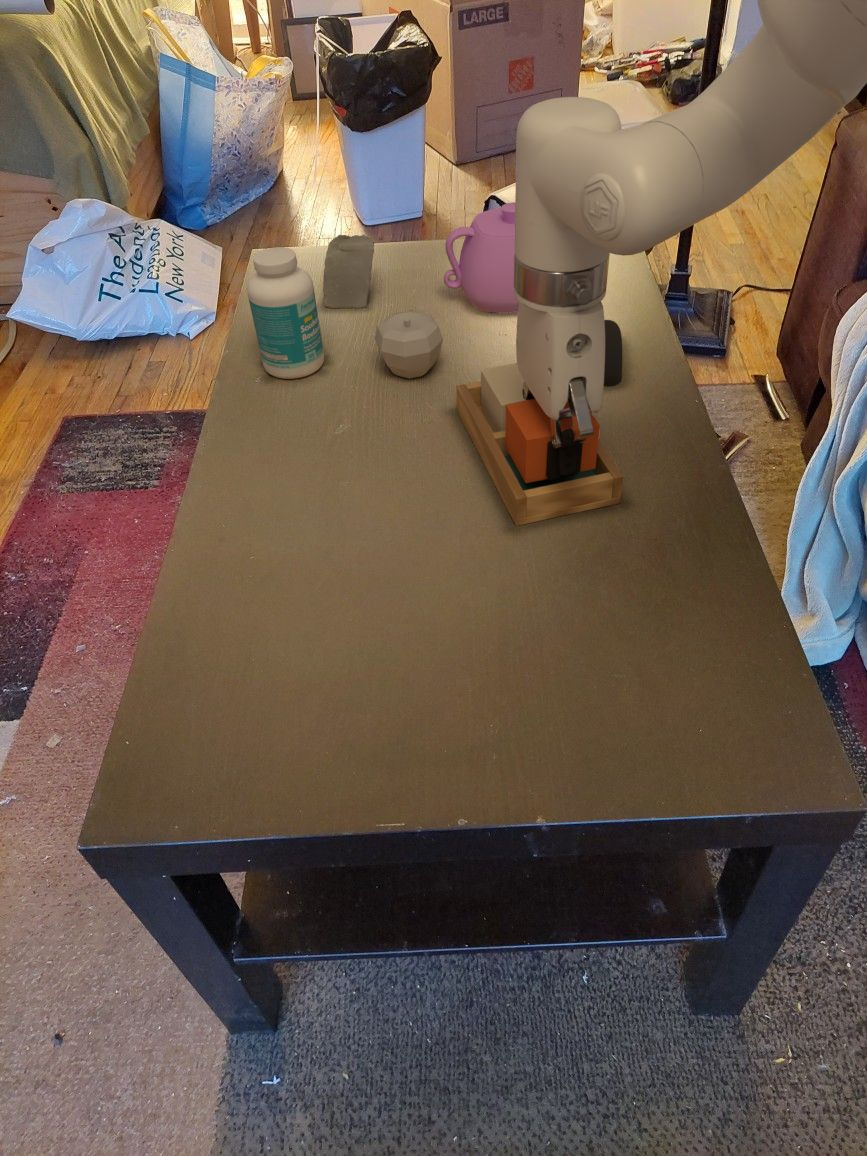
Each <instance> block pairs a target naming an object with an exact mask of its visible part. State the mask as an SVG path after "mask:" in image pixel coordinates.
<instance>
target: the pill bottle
mask: <svg viewBox="0 0 867 1156" xmlns="http://www.w3.org/2000/svg"><path fill="white" fill-rule="evenodd" d="M252 263H253V267H254V270H255V273H254V274H253V275H252V276H250V278H249V280H248V282H247V284H246V285H247V286H246V292H247V293H246V294H247V298H248V301H249V307H250V311H251V316H252V321H253V325H254V329H255V334H256V340H257V343H258V349H259V353H260V357H261V362H262V366H263V368H264V370H265V371H266V372H267V373H268V374H269V375H271V376H273V377H275V378H277V379H278V378H279V379H283V380H285V379H286V380H294V379H300V378H305V377H308V376H310V375H312V374H314V373H315V372H317V371H318V370H320V368H321V367H322V366H323V364H324V362H325V351H324V344H323V339H322V331H321V326H320V320H319V313H318V306H317V300H316V293H315V288H314V281H313V279H312V277H311V275H310V274H309V273H308V272H307V271H306V270H305V269H303V268H301V267H299V266H298V259H297V253H296V251H294V249H291V248H289V247H282V246H278V247H277V246H275V247H269V248H265V249H262V250H260V251H258V252H256V253H255V254H254V255H253V257H252Z"/></svg>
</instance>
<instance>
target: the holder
mask: <svg viewBox="0 0 867 1156" xmlns="http://www.w3.org/2000/svg"><path fill="white" fill-rule="evenodd" d="M455 392H456V412H457V414H458V416H459V418H460V420H461V422H462V424H463V426H464V427H465V429H466V431H467V434H468V435H469V437H470V439H471V441H472V443H473V445H474V447H475V449H476V451H477V453H478V455H479V457H480V459H481V460H482V463H483V465H484V466H485V468H486V471H487V473H488V475H489V476H490V478H491V480H492V483H493V484H494V486H495V488H496V490H497V492H498V494H499V496H500V498H501V500H502V502H503V504H504V505H505V508H506V510H507V512H508V513H509V516H510V517H511V519H512V521H513V523H514V524H515V527H517V526H523V525H527V524H531V523H537V522H541V521H545V520H550V519H554V518H559V517H564V516H568V515H572V514H577V513H581V512H585V511H586V512H587V511H590V510H596V509H600V508H604V507H609V506H613V505H619V504H621V501H622V492H623V487H624V485H623V484H624V478H625V475H624V474H623V472H622V471H621V470H620V469H619V466H618V465H617V464H616V463H615V461H614V460H613V459H612V457H611V455H610V454H609V453H608V451H607V450H606V448H605V447H604V445H603V444H602V442H601V441H600V440H599V439H598V449H597V458H596V467H595V469H592V470H587V471H583V472H579V473H578V474H576V475H572V476H567V477H562V478H557V479H553V480H549V479H545V480H540V481H535V482H531V483H525V482H524V480H523V478H522V476H521V474H520V473H519V471H518V469H517V467H516V465H515V464H514V462H513V460H512V458H511V456H510V455H509V453H508V451H507V449H506V447H505V437H506V430H505V431H500V432H496V433H494V432H493V430H492V428H491V427H490V425H489V423H488V421H487V419H486V417H485V416H484V414H483V412H482V410H481V380H479V381H475V382H469V383H465V384H459V385H455Z"/></svg>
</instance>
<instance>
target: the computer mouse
mask: <svg viewBox="0 0 867 1156" xmlns="http://www.w3.org/2000/svg"><path fill="white" fill-rule="evenodd" d="M604 321H605V371H604V387H615V386H617V385H619V384H621V382H622V378H623V339H622V332H621V331H622V330H621V328H620V326H619V325H618V323H617V322H616V321H614V320H611V319H604Z"/></svg>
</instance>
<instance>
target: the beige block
mask: <svg viewBox="0 0 867 1156" xmlns="http://www.w3.org/2000/svg"><path fill="white" fill-rule="evenodd" d="M480 381H481V410H482V412H483V414H484V416H485V417H486V419H487V421H488V423H489V425H490V427H491V428H492V430H493V432H494V433H496V432H500V431H505V430H506V404H511V403H516V402H521V401H526V400H524V399H523V395H522V388H523V384H524V380H523V378H522V377H521V375H520V372H519V370H518V366H517V362H514V363H509V364H504V365H498V366H493V367H489V368H488V367H487V368H483V369H480Z"/></svg>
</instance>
